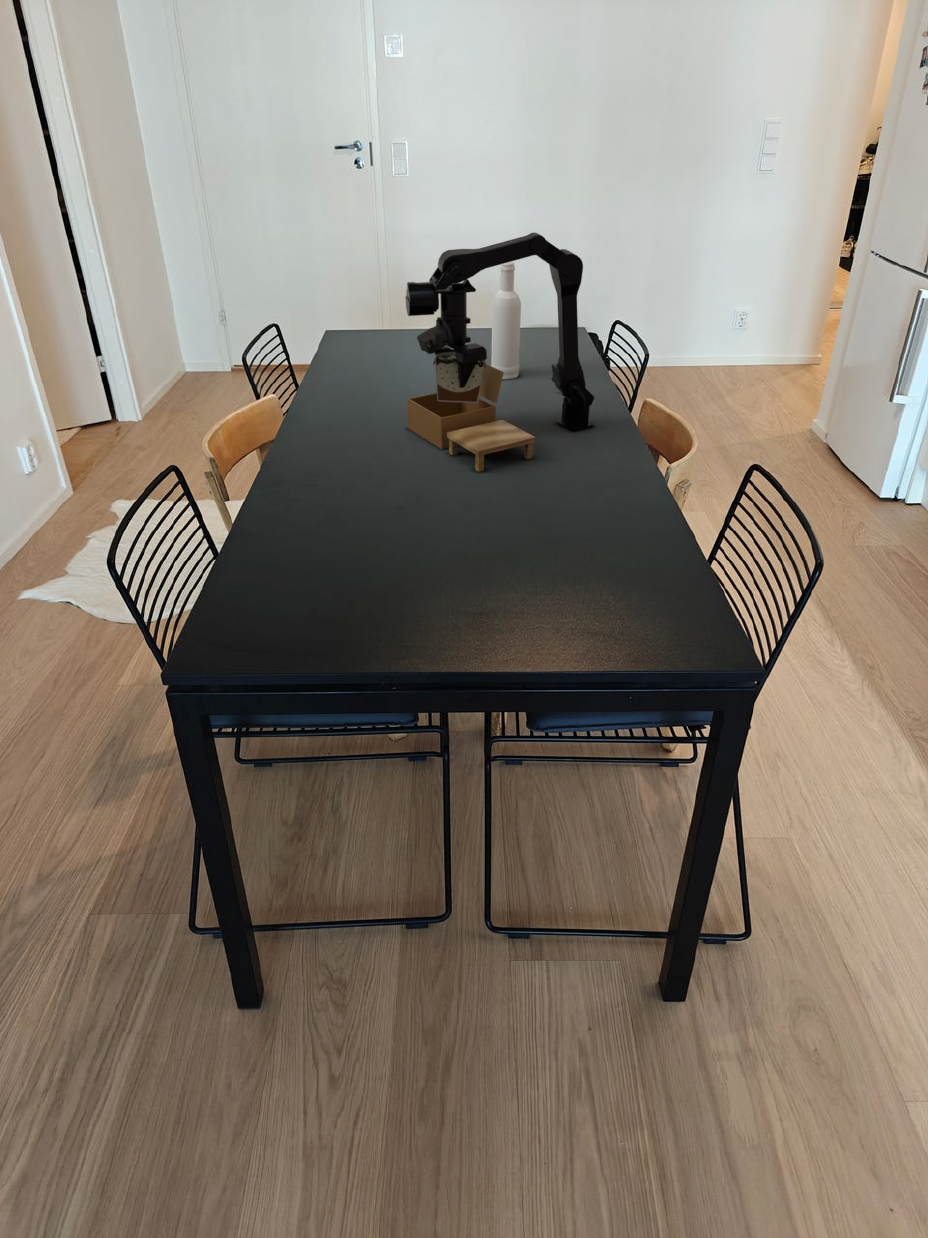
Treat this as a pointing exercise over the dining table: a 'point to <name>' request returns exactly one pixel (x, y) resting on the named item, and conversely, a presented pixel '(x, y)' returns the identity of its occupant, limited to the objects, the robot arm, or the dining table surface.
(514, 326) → the bottle
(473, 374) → the food container
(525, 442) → the stool
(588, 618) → the dining table surface
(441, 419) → the cardboard box
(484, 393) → the flap
